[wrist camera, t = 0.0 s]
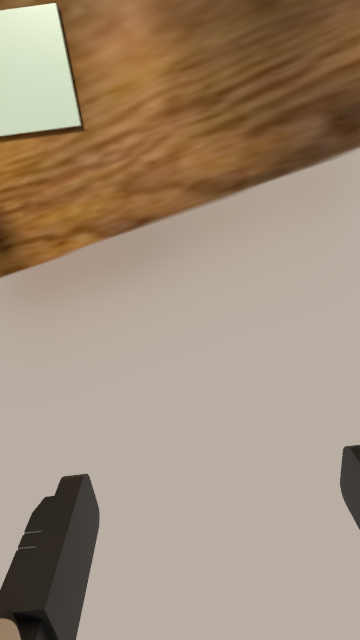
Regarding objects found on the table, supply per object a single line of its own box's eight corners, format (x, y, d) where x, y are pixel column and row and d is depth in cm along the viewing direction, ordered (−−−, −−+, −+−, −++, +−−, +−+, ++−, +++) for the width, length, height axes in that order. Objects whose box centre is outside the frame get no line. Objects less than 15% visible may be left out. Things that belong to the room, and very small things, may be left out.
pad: (-45, 20, 29) (-50, 17, 28) (57, 6, 29) (55, 3, 28) (-10, 138, 32) (-14, 137, 32) (82, 126, 32) (80, 125, 32)
